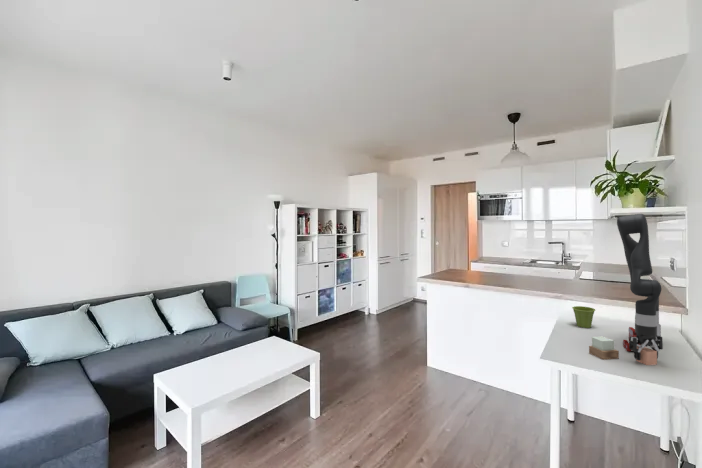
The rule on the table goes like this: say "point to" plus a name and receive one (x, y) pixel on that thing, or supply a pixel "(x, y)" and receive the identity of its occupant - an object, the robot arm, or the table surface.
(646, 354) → the terracotta block
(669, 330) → the table surface
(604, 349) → the greygreen middle
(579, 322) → the plant pot
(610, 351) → the walnut base
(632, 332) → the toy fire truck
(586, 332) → the table surface
